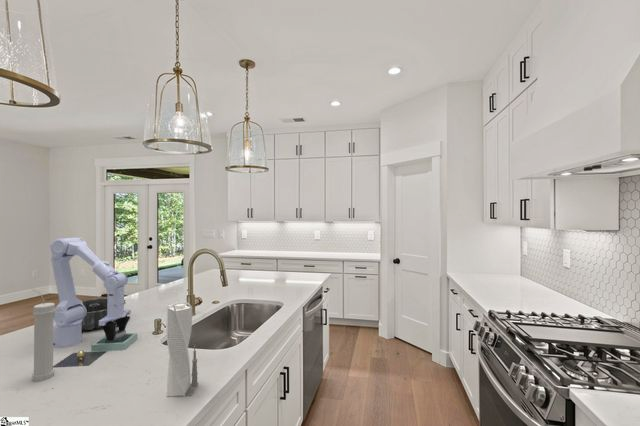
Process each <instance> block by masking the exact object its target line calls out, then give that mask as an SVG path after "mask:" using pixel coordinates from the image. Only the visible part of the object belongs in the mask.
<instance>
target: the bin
mask: <svg viewBox="0 0 640 426" xmlns="http://www.w3.org/2000/svg"><path fill="white" fill-rule="evenodd" d="M137 340H138V332H130V333H129V332H128V333H127V332H126V341H124V342H122V343H105V335H104V336H102V337H101V338H99V339H98V340H96V341H95V342H94V343H92V344H91V346H90V347H91V348H90V349H91V350H90V352H99V351H107V352H108V351H125V350H126V349H127V348H128V347H130V346H131V345H132V344H133V343H134V342H135V341H137Z"/></svg>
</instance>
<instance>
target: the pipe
mask: <svg viewBox="0 0 640 426" xmlns="http://www.w3.org/2000/svg"><path fill="white" fill-rule="evenodd" d="M31 290H32V291H34V292H36V293H38V294H39V295H40V297H41V298H42V300H43V303H39V304H36V305H34V306H33V308H32V310H33V311H32V315H33V316H34V323H33V324H34V328H33V329H34V330H33V331H34V332H33V333H34V334H33V335H34V336H33V338H34V339H33V342H34V343H33V373H32V374H31V378H32V381H33V382H43V381H47V380H49V379H51V378H53V377H54V376H55V369H56V368H53V366H54V347H53V327H54V326H55V325H54V323H55V321H54V316H55V308H56V305H55V302H45V299H44V297H43V295H42V294H41V292H39V291H38V290H36V289H34V288H33V289H31Z"/></svg>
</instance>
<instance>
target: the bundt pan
mask: <svg viewBox="0 0 640 426" xmlns="http://www.w3.org/2000/svg"><path fill="white" fill-rule="evenodd" d="M81 301H82V302H83V305H84V307H85V308H86V310H87V314H86V316H85V317H84V318H83V321H82V331H91V330H93V329H96V330H99V329H100V328H102V327H101V326H99V320H101V319H103V318H104V317H106V316H107V297H99V298H91V299H86V300H81ZM125 304H126V299H124V305H125ZM68 308H70V307H68ZM112 322H113V323H116V321H115V320H114V321H112Z"/></svg>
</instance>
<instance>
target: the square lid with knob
mask: <svg viewBox="0 0 640 426" xmlns="http://www.w3.org/2000/svg"><path fill="white" fill-rule="evenodd" d="M107 352H108V351H92V352H91V351H84V350H79V351H76V352H72V353H71V354H69V355H67V356H66V357H65V358H63V359H61V360H60V361H59V362H57V363H56V364H53V369H56V368H71V367H72V368H73V367H75V368H76V367H87V366H88V367H89V366H91V365H92V364H93V363H94V362H95V361H97V360H98V359H99V358H101V357H103V356H104V355H105V354H106V353H107Z"/></svg>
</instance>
